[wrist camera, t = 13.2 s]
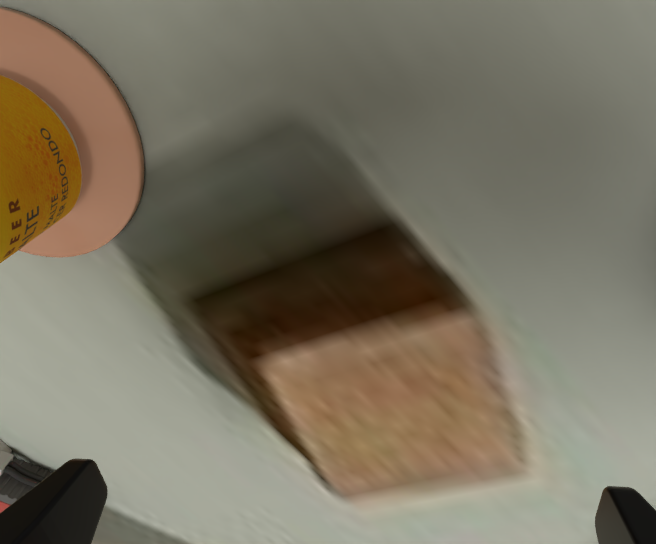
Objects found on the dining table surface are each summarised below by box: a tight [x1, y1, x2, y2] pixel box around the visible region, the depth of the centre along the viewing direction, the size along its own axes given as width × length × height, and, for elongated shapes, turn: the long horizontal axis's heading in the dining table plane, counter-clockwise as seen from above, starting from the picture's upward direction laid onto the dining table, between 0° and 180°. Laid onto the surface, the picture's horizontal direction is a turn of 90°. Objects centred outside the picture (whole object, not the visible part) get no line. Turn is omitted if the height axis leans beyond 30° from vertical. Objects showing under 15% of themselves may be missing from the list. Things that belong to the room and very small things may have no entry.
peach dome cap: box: [0, 7, 145, 257], centre depth 20 cm, size 10×10×1 cm
